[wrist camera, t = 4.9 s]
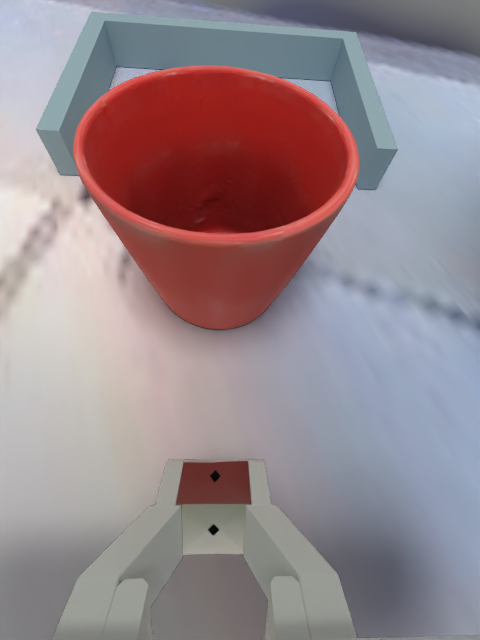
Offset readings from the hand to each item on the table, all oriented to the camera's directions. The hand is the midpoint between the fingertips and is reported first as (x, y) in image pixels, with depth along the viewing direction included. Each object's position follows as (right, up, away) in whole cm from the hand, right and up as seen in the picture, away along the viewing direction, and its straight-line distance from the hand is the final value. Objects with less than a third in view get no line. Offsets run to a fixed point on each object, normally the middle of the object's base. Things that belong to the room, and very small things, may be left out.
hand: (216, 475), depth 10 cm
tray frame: (-1, +23, +18) cm, 29 cm away
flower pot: (-1, +8, +11) cm, 13 cm away
